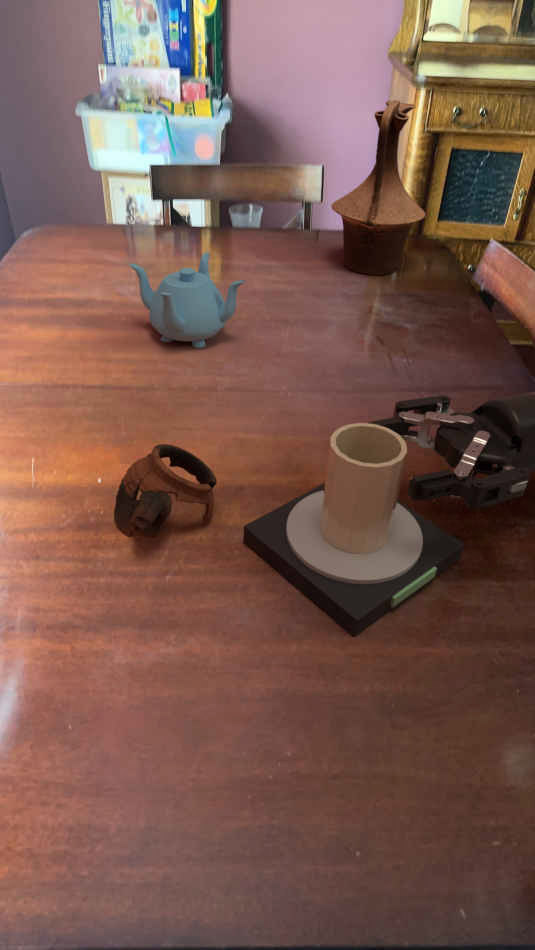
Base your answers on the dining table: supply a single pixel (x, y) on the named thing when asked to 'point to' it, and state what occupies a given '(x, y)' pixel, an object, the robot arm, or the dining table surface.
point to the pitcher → (379, 204)
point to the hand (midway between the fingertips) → (386, 461)
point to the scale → (351, 560)
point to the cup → (361, 486)
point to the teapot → (187, 304)
